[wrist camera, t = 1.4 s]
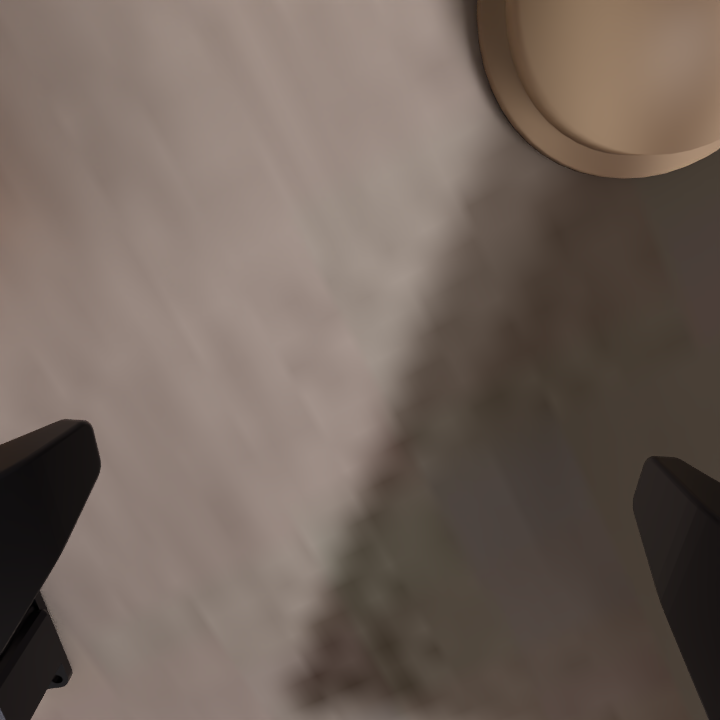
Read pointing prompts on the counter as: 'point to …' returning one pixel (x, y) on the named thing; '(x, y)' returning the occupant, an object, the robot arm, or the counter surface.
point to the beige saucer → (607, 80)
